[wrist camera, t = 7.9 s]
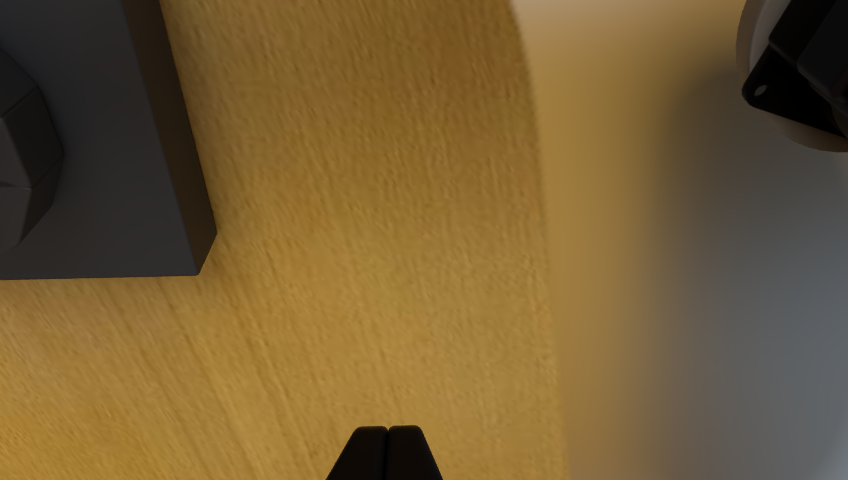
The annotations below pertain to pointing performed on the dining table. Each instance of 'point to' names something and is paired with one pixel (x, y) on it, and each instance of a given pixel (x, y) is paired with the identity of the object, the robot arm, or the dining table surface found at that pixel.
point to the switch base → (95, 145)
